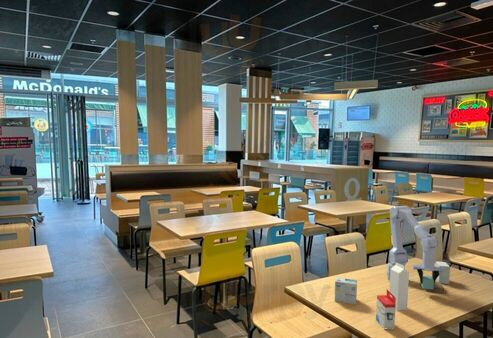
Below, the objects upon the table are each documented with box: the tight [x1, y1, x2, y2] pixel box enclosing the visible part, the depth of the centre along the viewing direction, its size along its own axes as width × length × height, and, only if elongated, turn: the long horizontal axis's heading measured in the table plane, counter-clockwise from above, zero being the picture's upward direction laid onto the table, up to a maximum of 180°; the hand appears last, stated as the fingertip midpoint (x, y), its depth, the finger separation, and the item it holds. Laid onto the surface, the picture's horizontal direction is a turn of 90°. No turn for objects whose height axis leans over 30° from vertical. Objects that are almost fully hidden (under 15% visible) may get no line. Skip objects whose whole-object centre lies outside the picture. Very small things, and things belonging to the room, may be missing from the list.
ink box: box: [375, 289, 396, 330], centre depth 150 cm, size 8×5×15 cm, turn 3°
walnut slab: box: [423, 280, 445, 294], centre depth 188 cm, size 9×9×3 cm
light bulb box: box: [334, 276, 358, 305], centre depth 173 cm, size 11×7×11 cm, turn 71°
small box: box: [434, 261, 451, 285], centre depth 198 cm, size 8×6×10 cm
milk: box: [389, 262, 410, 311], centre depth 166 cm, size 6×6×22 cm
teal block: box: [420, 275, 434, 290], centre depth 180 cm, size 5×5×5 cm
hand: (427, 283), depth 180 cm, fingers closed on teal block, 5 cm apart
